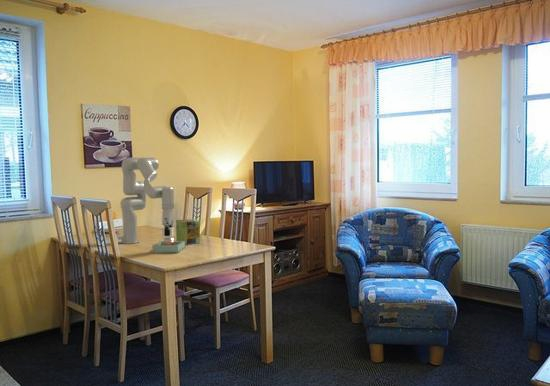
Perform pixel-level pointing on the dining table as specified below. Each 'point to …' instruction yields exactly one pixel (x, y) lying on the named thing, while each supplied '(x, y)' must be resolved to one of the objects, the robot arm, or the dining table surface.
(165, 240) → the clear brown jar
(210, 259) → the dining table surface
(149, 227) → the dining table surface
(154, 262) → the dining table surface
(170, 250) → the tote
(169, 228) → the grey block
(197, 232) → the protein box
